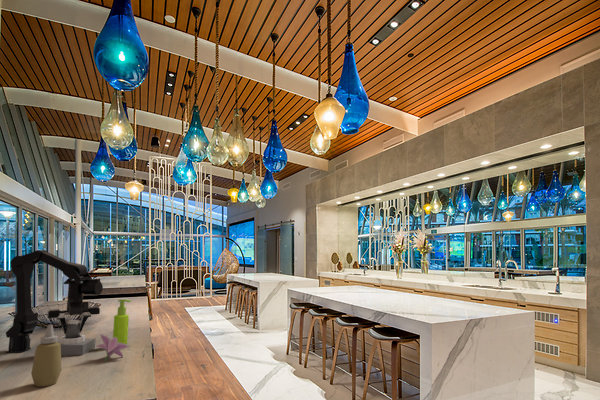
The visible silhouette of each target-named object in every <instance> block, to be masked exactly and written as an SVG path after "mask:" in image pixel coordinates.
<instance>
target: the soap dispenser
mask: <svg viewBox="0 0 600 400" xmlns="http://www.w3.org/2000/svg"><path fill="white" fill-rule="evenodd" d="M117 302H119V306H118V307H117V312H116V313H117V314H115V315H114V316H113V334H112V338H114V337H117V340H118V343H124V344H127V345H128V338H129V337H128V335H129V318H130V317H129V314H127V307H126V306H125V302H127V303H131V302H132V300H131V299H118V301H117Z"/></svg>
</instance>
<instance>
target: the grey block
mask: <svg viewBox="0 0 600 400" xmlns="http://www.w3.org/2000/svg"><path fill="white" fill-rule="evenodd" d="M65 323H66V334H64V336H65V339H72V338H79V337H80V335H81V333H80V324H81V319H73V320H71V319H70V320H67V321H66V320H65Z"/></svg>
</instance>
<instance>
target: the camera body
mask: <svg viewBox="0 0 600 400" xmlns="http://www.w3.org/2000/svg"><path fill="white" fill-rule="evenodd" d="M58 339H59V340H58V341H57V342H58V343H60V344H61V357H63V356H65V357H67V356H84V355H86V354H88V353H89V352H90V351H92V350H94V349H95V348H96V341H97V339H96V338H94V337H93V338H91V337H89V338H88V337H87V338H86V335H85V334H80V337H79V338H72V339H65V335H63V336H61V337H59V338H58Z"/></svg>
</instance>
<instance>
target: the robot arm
mask: <svg viewBox="0 0 600 400" xmlns="http://www.w3.org/2000/svg"><path fill="white" fill-rule="evenodd" d="M40 262H42V263H45V264H47V265H49V266H51V267H52V268H55V269H56V270H59V271H61V272H62V273H63V275H64V276H65V277H67V279H66V280H65V281H63V282H62V284H63V285H68V286H67V301H66V310H60V309H59V308H52V309H48V310H47V319H56V320H59V322H60V324H61V327H62V330H63V334H64V335H65V334H66V317H65V316H66V315H67V316H68V315H69V316H71V317H72V316H77V315H78V316H81V319H80V320H81V323H80V334H81V333H82V331H83V328H84V327H85V323H86V322H87V320H88V319H89V318H91V317H92V315H100V313H101V309H100V307H98V306H97V305H93V306H89V305H90V304H89V301H84V296H99V295H101V294H102V292H103V289H104V287H103V283H102V281H101V278H92V276H91V274H90V272H89V271H88V268H87V266H86V265H84V264H81V263H75V262H70V261H67V260H66V259H64V258H61V257H59V256H57V255H55V254H53V253H51V252H48V251H47V250H45V249H36V250H35V251H31V252H28V253H26V254H22V255H16V256H14V257H13V258H12V259H11V260H10V268H11V272H12V274H13V275H14V276H15V280H16V303H17V306H16V308H17V312H16V314H15V316H14V318H13V320H12V321H13V322H12V326H11V327H10V328H8V330H6V332H5V336H6V338H9V341H8V350H6V351H5V353H7V354H8V353H23V352H25V351H29V350H30V349H31V336H30V335H32V334H33V333H34V330H35V329H36V327H38V323H39V319H38V316H39V314H38V313H39V312H34V310H33V309H32V285H31V275H32V273H33V271H34V269H35V265H36V264H38V263H40Z"/></svg>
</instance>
